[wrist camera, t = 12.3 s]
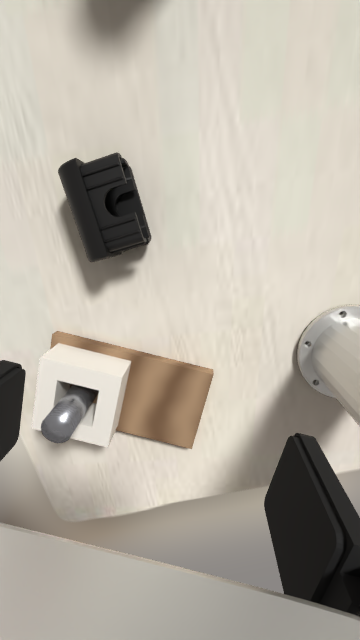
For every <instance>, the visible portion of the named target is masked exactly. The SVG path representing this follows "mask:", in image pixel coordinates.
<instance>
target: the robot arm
mask: <svg viewBox="0 0 360 640" xmlns="http://www.w3.org/2000/svg"><path fill="white" fill-rule="evenodd" d="M341 311H342V313H341V314H339V313H340V312H341ZM307 341H308V342H307ZM305 342H307V343H306V344H305ZM297 361H298V366H299V369H300V371H301V373H302V375H303V377H304V378H305V380H306V381H307V382H308V383H309V385H310V386H311V387H312V388H314V389H315V390H317V391H318V392H319V393H322V394H324V395H326V396H329V397H333V398H336V399H337V400H338V401H339V402H340V403H341V405H342V406H343V407H344V408H345V409H346V411H347V412H348V413H349V414H350V416H351V417H352V418H353V419H354V420H355V422H356V423H357V424H358V425H359V426H360V305H346V306H340V307H336V308H333V309H330V310H328V311H326V312H324V313H322V314H321V315H320V316H318V317H317V318H316V319H314V320H313V321H312V322H311V324H310V325H309V326H308V327H307V328H306V330H305V331H304V333H303V334H302V337H301V339H300V341H299V345H298V350H297ZM313 380H315V381H313ZM24 383H25V370H24V369H22V367H21V365H20V364H18V363H13V362H9V361H5V360H2V361H0V461H1V460H2V459H3V458H4V457H5V455H6V454H7V453H8V452H9V451H10V450H11V449H12V447H13V446H14V445H15V444H16V442H17V440H18V437H19V430H20V420H21V411H22V402H23V393H24ZM264 507H265V512H266V517H267V521H268V525H269V530H270V534H271V538H272V543H273V547H274V551H275V556H276V560H277V564H278V569H279V573H280V577H281V581H282V586H283V590H284V594H281V593H278V592H274V591H270V590H267V589H263V588H259V587H255V586H252V585H248V584H244V583H240V582H236V581H232V580H228V579H224V578H220V577H217V576H213V575H209V574H205V573H201V572H197V571H193V570H189V569H186V568H182V567H177V566H174V565H169V564H166V563H162V562H158V561H154V560H150V559H146V558H142V557H138V556H134V555H130V554H126V553H122V552H118V551H114V550H110V549H106V548H102V547H98V546H94V545H90V544H86V543H82V542H78V541H74V540H70V539H65V538H62V537H58V536H54V535H50V534H45V533H41V532H37V531H33V530H29V529H25V528H21V527H16V526H12V525H9V524H4V523H0V640H360V518H359V516H358V514H357V512H356V510H355V509H354V507H353V505H352V503H351V501H350V500H349V498H348V496H347V494H346V493H345V491H344V489H343V488H342V485H341V484H340V482H339V480H338V478H337V476H336V475H335V473H334V471H333V469H332V467H331V466H330V464H329V462H328V460H327V459H326V457H325V455H324V453H323V451H322V450H321V448H320V446H319V444H318V442H317V441H316V439H315V438H314V437H311V436H307V435H303V434H299V433H296V434H295V435H294V436H290V437H289V438H288V440H287V442H286V445H285V448H284V450H283V453H282V455H281V458H280V460H279V463H278V466H277V468H276V471H275V473H274V476H273V478H272V481H271V483H270V486H269V489H268V491H267V494H266V497H265V502H264Z"/></svg>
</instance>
